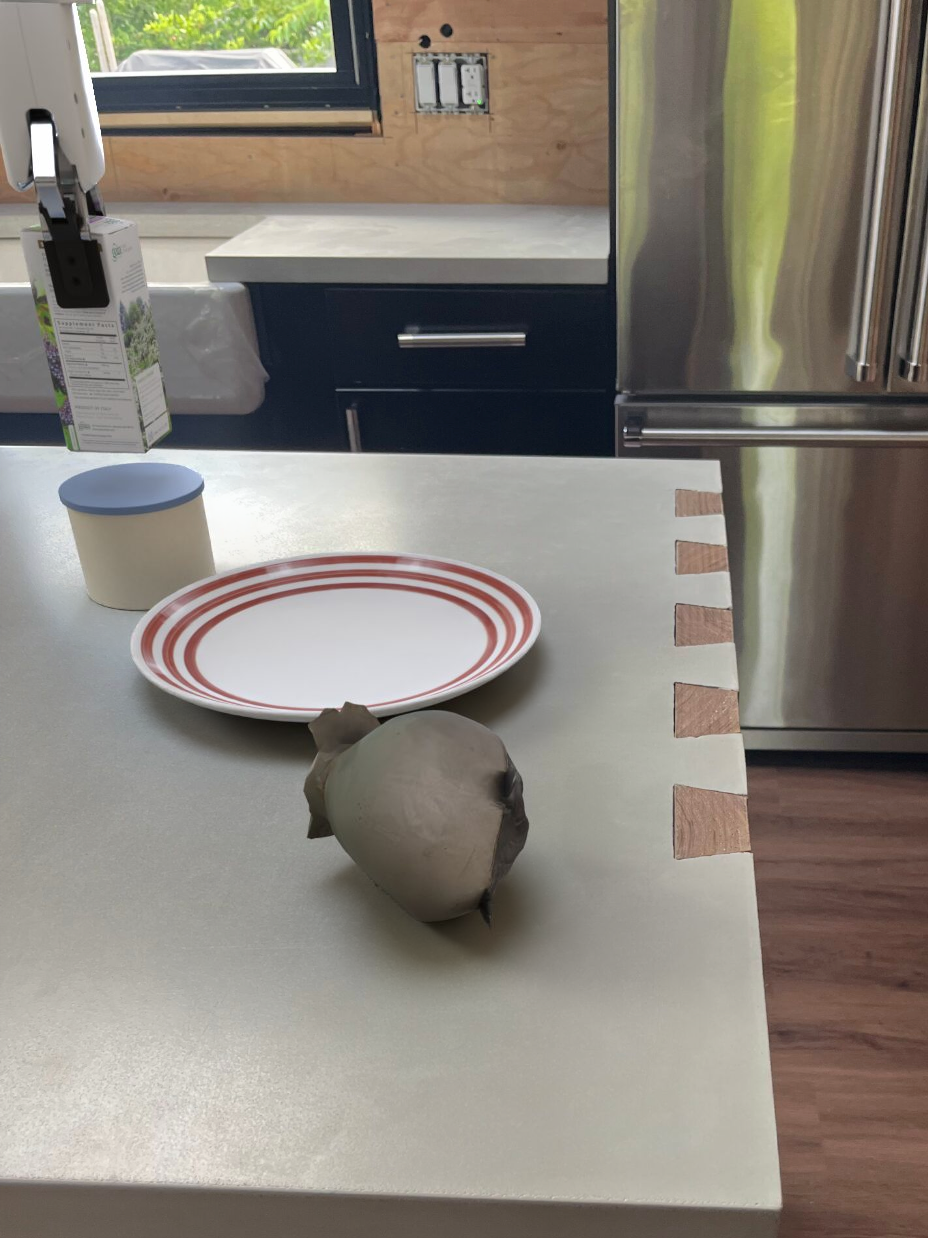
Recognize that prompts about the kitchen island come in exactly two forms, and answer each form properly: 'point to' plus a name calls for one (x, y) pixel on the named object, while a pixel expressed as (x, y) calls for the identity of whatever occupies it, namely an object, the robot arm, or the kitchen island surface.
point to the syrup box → (103, 348)
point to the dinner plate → (335, 634)
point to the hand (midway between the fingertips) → (90, 293)
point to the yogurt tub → (139, 531)
